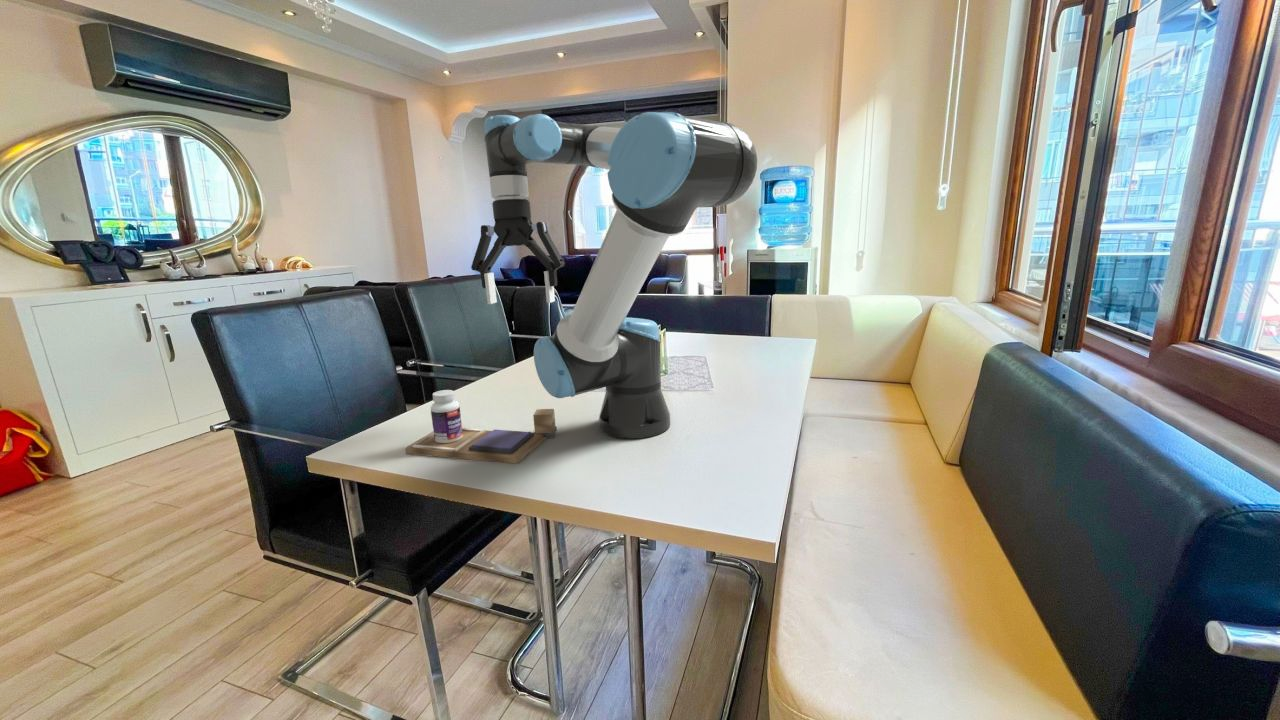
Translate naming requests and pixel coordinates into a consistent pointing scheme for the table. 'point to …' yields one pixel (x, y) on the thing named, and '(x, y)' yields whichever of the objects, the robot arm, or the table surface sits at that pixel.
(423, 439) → the board
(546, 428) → the stamp block
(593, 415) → the table surface
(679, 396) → the table surface
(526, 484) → the table surface
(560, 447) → the table surface
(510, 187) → the robot arm
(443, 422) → the pill bottle
